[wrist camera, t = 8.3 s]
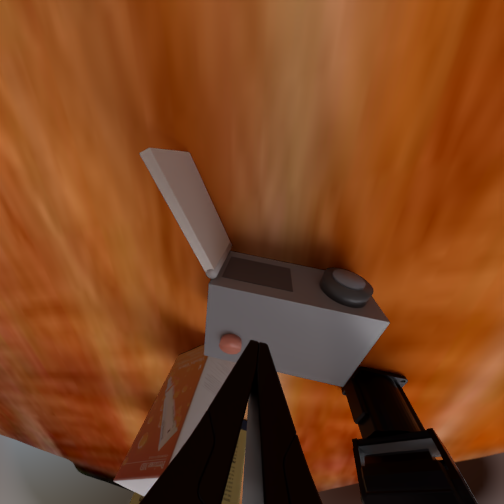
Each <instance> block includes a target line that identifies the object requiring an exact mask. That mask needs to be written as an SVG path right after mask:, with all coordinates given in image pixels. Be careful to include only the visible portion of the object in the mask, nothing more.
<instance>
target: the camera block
mask: <svg viewBox="0 0 504 504" xmlns="http://www.w3.org/2000/svg"><path fill="white" fill-rule="evenodd" d="M372 294H373V288H372V286H371V285H370V284H369V283H368V282H367V281H366V280H365V279H363V278H362V277H360V276H359V275H357V274H355V273H353V272H350V271H348V270H345V269H341V268H328V269H326V270H320V269H315V268H311V267H306V266H301V265H296V264H291V263H286V262H282V261H277V260H272V259H267V258H262V257H257V256H252V255H248V254H243V253H238V252H233V251H230V252H229V254H228V256H227V258H226V259H225V261H224V263H223V265H222V267H221V269H220V271H219V273H218V275H217V277H216V278H214V279H211V281H210V283H209V288H208V302H207V317H206V331H205V345H204V355H205V356H209V357H214V358H218V359H222V360H227V361H231V362H237V361H238V359H239V357H240V356H241V354H242V352H243V351H244V349H245V348H246V346H247V344H248V343H249V341H250V340H255V341H258V342H263V343H267V344H268V347H269V350H270V353H271V356H272V359H273V362H274V365H275V368H276V371H277V372H280V373H284V374H288V375H293V376H297V377H302V378H306V379H310V380H315V381H319V382H324V383H328V384H332V385H337V386H341V387H343V386H344V385H345V384H346V382H347V381H348V379H349V378H350V377H351V375H352V374H353V373H354V371H355V370H356V368H357V367H358V366H359V364H360V363H361V362H362V360H363V359H364V358H365V356H366V355H367V353H368V352H369V351H370V349H371V348H372V347H373V345H374V344H375V343H376V341H377V340H378V338H379V337H380V336H381V334H382V333H383V332H384V330H385V329H386V327H387V326H388V325H389V323H390V322H389V320H388V319H387V317H386V316H385V315H384V313H383V312H382V310H381V309H380V307H379V306H378V305H377V303H376V302H375V300H374V299H373V298H372Z"/></svg>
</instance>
